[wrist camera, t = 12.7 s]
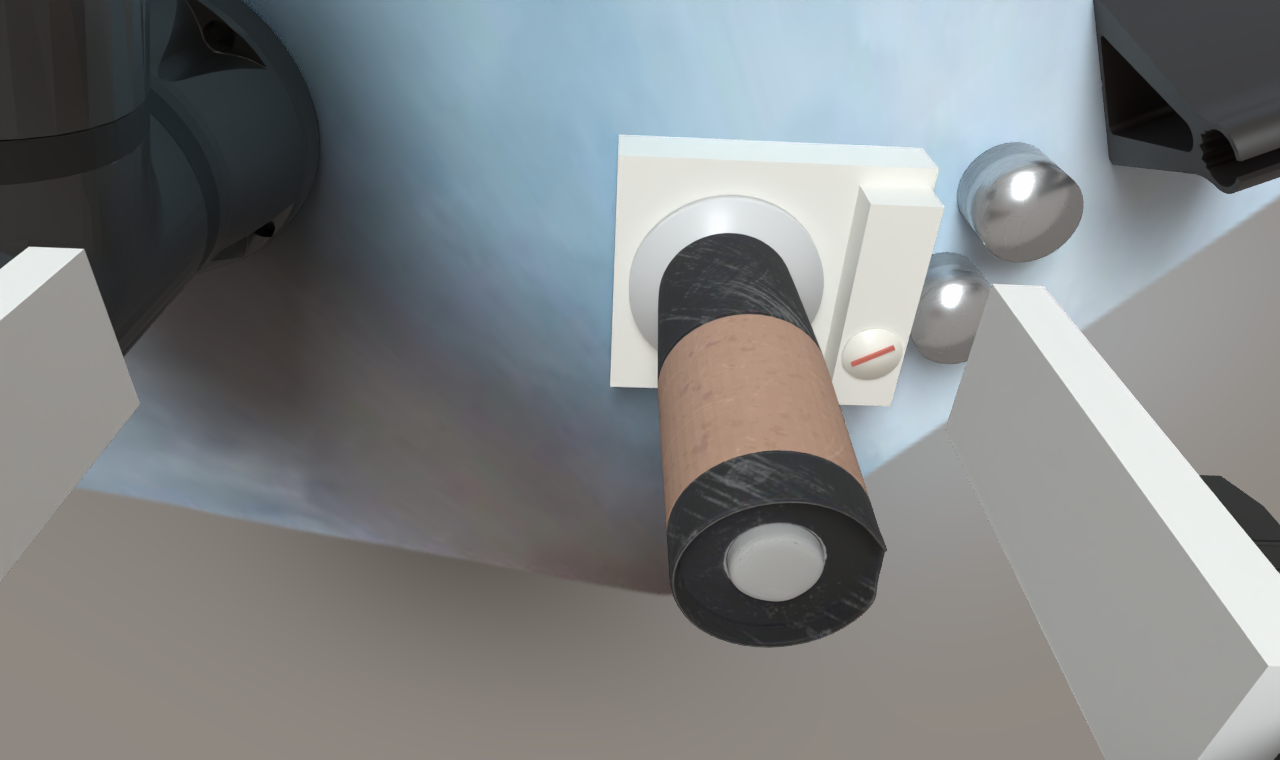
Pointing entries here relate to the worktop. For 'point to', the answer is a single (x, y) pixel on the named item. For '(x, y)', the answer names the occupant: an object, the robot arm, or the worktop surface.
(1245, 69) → the phone stand
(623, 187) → the scale
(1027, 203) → the cylinder
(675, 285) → the travel mug
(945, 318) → the cylinder
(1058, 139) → the worktop surface
